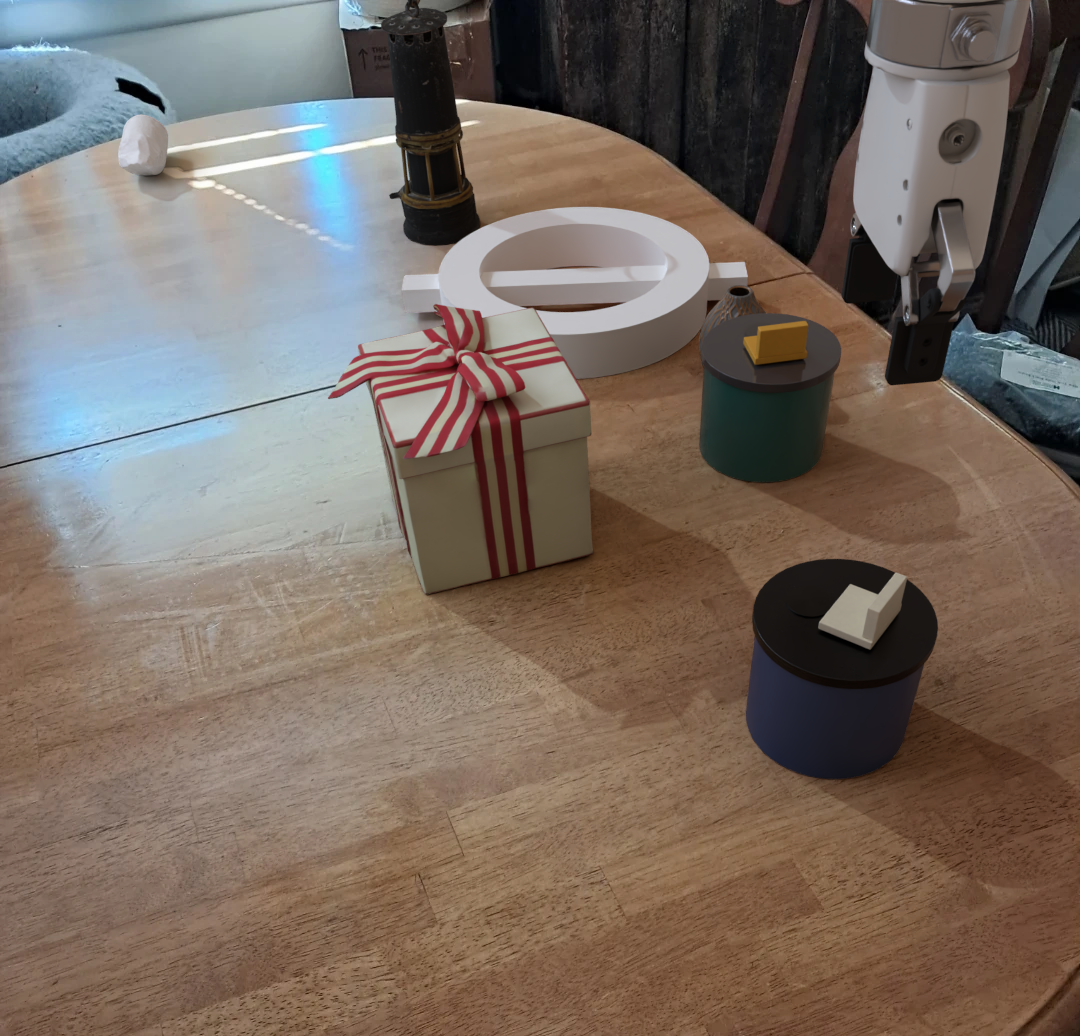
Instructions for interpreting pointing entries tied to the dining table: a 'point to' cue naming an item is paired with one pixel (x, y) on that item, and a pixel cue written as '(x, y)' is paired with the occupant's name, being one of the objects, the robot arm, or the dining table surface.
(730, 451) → the green lidded canister
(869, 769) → the blue lidded jar
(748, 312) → the vase
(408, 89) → the lantern
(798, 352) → the slider
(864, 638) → the slider
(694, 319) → the ring with crossbar
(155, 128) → the white rock
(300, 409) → the dining table surface
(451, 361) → the gift box
